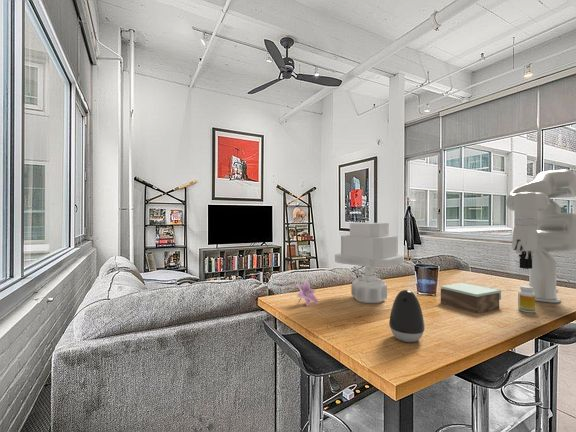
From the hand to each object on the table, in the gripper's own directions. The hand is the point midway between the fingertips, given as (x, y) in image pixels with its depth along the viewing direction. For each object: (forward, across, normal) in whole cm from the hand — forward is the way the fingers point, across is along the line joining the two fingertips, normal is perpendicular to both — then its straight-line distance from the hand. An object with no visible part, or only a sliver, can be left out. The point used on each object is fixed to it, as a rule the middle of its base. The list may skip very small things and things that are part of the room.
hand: (525, 268), depth 122 cm
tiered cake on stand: (+18, +46, -40) cm, 64 cm away
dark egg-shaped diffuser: (+18, +66, 0) cm, 68 cm away
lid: (+14, +13, -15) cm, 24 cm away
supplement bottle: (+17, 0, 0) cm, 17 cm away
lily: (+18, +76, -47) cm, 91 cm away
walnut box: (+17, +14, -15) cm, 26 cm away
